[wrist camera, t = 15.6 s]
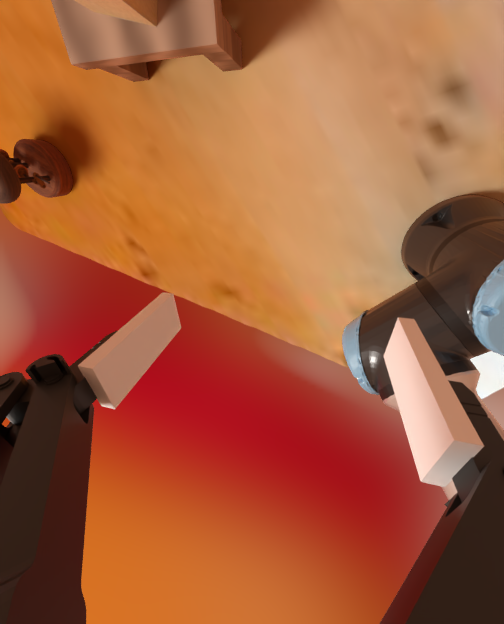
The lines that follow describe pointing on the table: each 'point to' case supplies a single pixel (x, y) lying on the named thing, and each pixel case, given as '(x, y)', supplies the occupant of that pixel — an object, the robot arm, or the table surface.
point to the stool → (148, 37)
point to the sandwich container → (125, 9)
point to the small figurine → (34, 170)
